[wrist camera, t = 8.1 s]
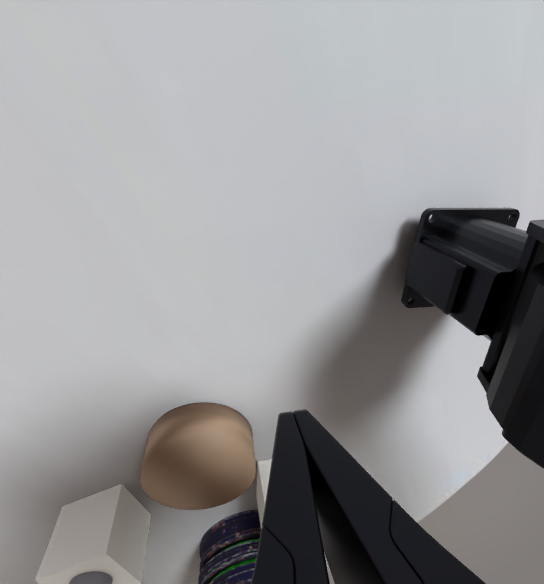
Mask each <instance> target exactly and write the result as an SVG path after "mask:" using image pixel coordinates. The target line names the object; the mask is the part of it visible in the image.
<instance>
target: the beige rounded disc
mask: <svg viewBox="0 0 544 584" xmlns="http://www.w3.org/2000/svg"><path fill="white" fill-rule="evenodd" d="M255 474H256V463H255V454H254V445H253V435H252V429H251V426H250V424H249V422H248V420H247V419H246V418H245V417H244V416H243V415H242V414H241V413H239V412H238V411H236V410H234V409H232V408H230V407H228V406H225V405H221V404H216V403H193V404H187V405H184V406H180V407H177V408H175V409H173V410H171V411H169V412H167V413H165V414H164V415H163V416H162V417H160V418H159V419H158V420H157V421H156V423H155V424H154V425H153V427H152V428H151V430H150V433H149V436H148V440H147V445H146V450H145V454H144V459H143V463H142V468H141V472H140V483H141V486H142V488H143V490H144V491H145V493H146V494H147V495H148V496H149V497H150V498H152V499H153V500H154V501H156V502H158V503H160V504H162V505H165V506H168V507H172V508H176V509H184V510H199V509H207V508H212V507H216V506H219V505H222V504H225V503H227V502H230V501H232V500H233V499H235V498H237V497H238V496H240V495H241V494H242V493H244V492H245V491H246V490H247V489H248V488H249V487H250V485H251V484H252V482H253V480H254V478H255Z"/></svg>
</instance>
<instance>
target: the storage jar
mask: <svg viewBox="0 0 544 584" xmlns="http://www.w3.org/2000/svg"><path fill="white" fill-rule="evenodd" d="M260 534H261V525H260V519H259V512H258V510H251V511H245V512H241V513H238V514H235V515H232V516H229V517H227V518H225V519H223V520H221V521H219V522H218V523H216V524H215V525H214V526H212V527H211V528H210V529H209V530H208V531H207V532H206V533H205V535H204V536H203V538H202V540H201V543H200V557H201V563H200V574H199V581H198V584H251V581H252V577H253V573H254V568H255V563H256V557H257V552H258V547H259V540H260Z"/></svg>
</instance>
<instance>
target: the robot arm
mask: <svg viewBox="0 0 544 584" xmlns="http://www.w3.org/2000/svg"><path fill="white" fill-rule="evenodd" d="M431 214H432V218H431V219H430V220H429V216H430V215H431ZM510 215H511V216H510ZM519 215H520V213H519V211H518V210H516V209H512V208H429V209H426V210H425V211H424V212H423V213H422V215H421V218H420V222H419V227H418V231H417V235H416V239H415V244H414V246H413V249H412V254H411V258H410V262H409V266H408V271H407V275H406V279H405V286H404V290H403V294H402V299H401V302H402V304H403V305H405V306H406V307H407V308H417V307H432V306H436V307H437V308H438V309H439V310H441V311H442V312H443V313H445V314H447V315H450V316H452V317H453V318H454V319H456V320H457V321H458V322H460V323H461V324H462V325H464V326H465V327H466V328H468V329H469V330H470V331H471V332H473V333H474V334H475V335H483V336H485V337H486V338H487V339H489V340H490V341H491V343H490V346H489V349H488V352H487V355H486V358H485V361H484V364H483V366H482V367H480V369H479V372H478V374H477V377H478V379H479V380H480V382H481V384H482V386H483V387H484V389H485V391H486V393H487V394H486V396H487V400H488V405H489V409H490V411H491V412H492V414H493V415H494V417H495V418H496V420H497V421H498V423H499V424H500V426H501V427H502V428H503V431H502V435H503V437H504V438H505V439H506V440H507V441H508V442H509V443H510V444H512V445H513V446H514V447H515V448H516V449H517V450H518V451H519V452H521V453H522V454H523V455H525V456H526V457H527V458H529V459H530V460H532V461H533V462H535V463H536V464H537V465H539V466H540V467H542V468H544V220H533V221H530V223H529V226H528V228H527V231H523V230H520V229H517V228H515V227H516V224H517V222H518V219H519ZM509 216H510V218H509ZM410 298H412V299H411V300H410V301H409V299H410ZM408 301H409V302H408ZM324 552H325V555H326V558H327V561H328V564H329V567H330V570H331V573H332V576H333V579H334V582H335V584H486V583H484V582H483V581H482V580H481V579H480V578H479V577H477V576H476V575H475V574H474V573H473V572H471V571H470V570H469V569H468V568H467V567H466V566H465V565H463V564H462V563H461V562H460V561H459V560H458V559H456V558H455V557H454V556H453V555H452V554H450V553H449V552H448V551H447V550H446V549H445V548H444V547H443V546H441V545H440V544H439V543H438V542H437V541H436V540H435V539H434V538H432V536H430V535H429V534H428V533H427V532H426V531H425V530H424V529H423V528H421V526H420V525H419V524H418V523H417V522H416V521H415V520H414V519H413V518H412V517H411V516H410V515H409V514H408V513H406V512H405V510H404V509H403V508H402V507H401V506H400V505H399V504H398V503H397V502H396V501H395V500H393V501H392V497H391V496H390V495H389V494H388V493H387V492H386V491H385V490H384V489H383V488H382V487H381V486H380V485H379V484H378V483H377V482H376V481H375V480H374V479H373V478H372V477H371V475H370V474H369V473H368V472H367V471H366V470H365V469H364V468H363V467H362V466H361V465H360V464H359V463H358V462H357V461H356V460H355V459H354V458H353V457H352V456H351V455H350V454H349V453H348V452H347V451H346V450H345V449H344V448H343V447H342V446H341V445H340V444H339V443H338V441H337V440H336V439H335V438H334V437H333V436H332V435H331V434H330V433H329V432H328V431H327V430H326V429H325V428H324V427H323V426H322V425H321V424H320V423H319V422H318V421H317V420H316V419H315V418H314V417H313V416H312V415H311V414H310V413H309V412H308V411H307V410H305V409H303V410H297V411H294V412H293V413H292V412H284V413H280V414H279V416H278V422H277V429H276V435H275V442H274V449H273V455H272V462H271V468H270V475H269V482H268V488H267V495H266V502H265V508H264V515H263V521H262V528H261V534H260V540H259V547H258V552H257V557H256V563H255V568H254V573H253V577H252V581H251V584H330V583H329V578H328V572H327V566H326V560H325V555H324Z"/></svg>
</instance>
